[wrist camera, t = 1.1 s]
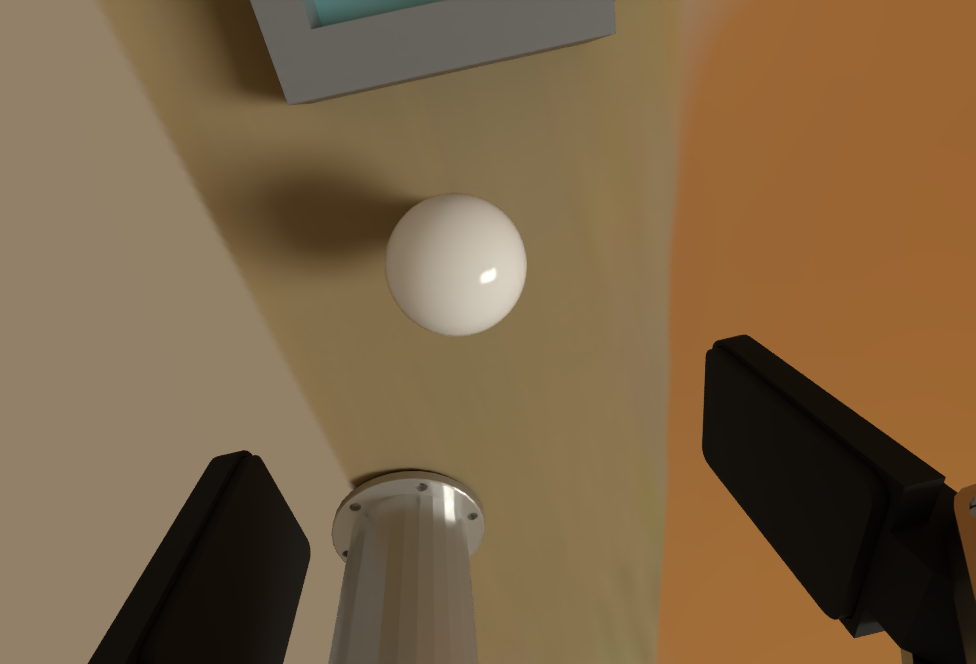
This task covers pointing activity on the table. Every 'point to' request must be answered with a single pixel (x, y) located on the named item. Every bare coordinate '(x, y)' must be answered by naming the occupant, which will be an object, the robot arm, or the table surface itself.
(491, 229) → the lightbulb
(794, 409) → the robot arm
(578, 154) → the table surface
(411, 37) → the housing
